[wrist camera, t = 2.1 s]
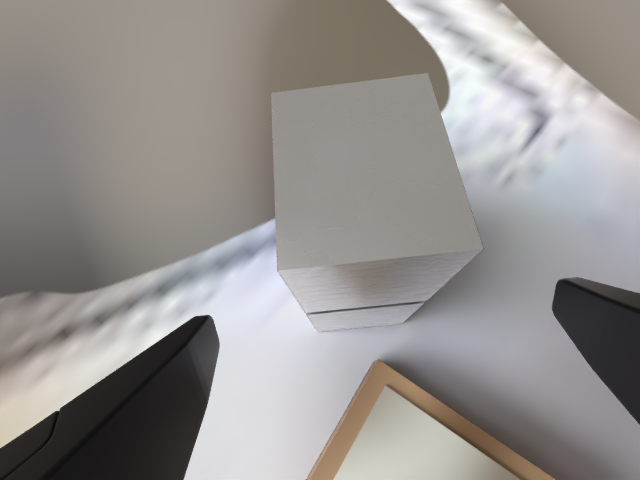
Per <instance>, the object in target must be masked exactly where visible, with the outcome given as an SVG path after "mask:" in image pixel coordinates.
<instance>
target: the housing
mask: <svg viewBox="0 0 640 480" xmlns="http://www.w3.org/2000/svg"><path fill="white" fill-rule="evenodd" d="M271 100H272V132H273V158H274V159H273V161H274V188H275V189H274V190H275V220H276V250H277V271H278V273H279V274H280V276H281V277H282V279H283V280H284V282H285V284H286V285H287V287H288V288H289V290H290V291H291V293H292V294H293V296H294V297H295V299H296V300H297V302H298V303H299V305H300V306H301V308H302V309H303V311H304V312H305V313H306V315H307V317H308V318H309V320H310V321H311V323H312V324H313V326H314V327H315V329H316V331H317V332H325V331H335V330H345V329H355V328H365V327H375V326H385V325H395V324H402V323H403V322H405V321H406V320H407V319H408V318H409V317H410V316H411V315H412V314H413V313H414V312H415V311H417V310H418V309H419V308H420V307H421V306H422V305H423V304H424V301H427V300H428V299H430V298H431V297H432V296H433V295H434V294H435V293H436V292H437V291H438V290H439V289H440V288H442V287H443V286H444V285H445V284H446V283H447V282H448V281H449V280H450V279H451V278H452V277H453V276H455V275H456V274H457V273H458V272H459V271H460V270H461V269H462V268H463V267H464V266H465V265H467V264H468V263H469V262H470V261H471V260H472V259H473V258H474V257H475V256H476V255H477V254H478V253H480V252H481V251H482V250H483V246H482V243H481V239H480V236H479V233H478V230H477V227H476V224H475V221H474V217H473V214H472V211H471V208H470V205H469V202H468V198H467V195H466V192H465V189H464V186H463V183H462V179H461V176H460V173H459V170H458V167H457V164H456V161H455V157H454V154H453V151H452V148H451V145H450V142H449V138H448V135H447V132H446V129H445V126H444V123H443V119H442V116H441V113H440V110H439V107H438V104H437V101H436V97H435V94H434V91H433V88H432V85H431V82H430V78H429V76H428V73H425V74H416V75H409V76H401V77H393V78H385V79H377V80H370V81H362V82H354V83H346V84H338V85H330V86H323V87H315V88H307V89H299V90H291V91H283V92H275V93H271Z"/></svg>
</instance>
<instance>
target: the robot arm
mask: <svg viewBox="0 0 640 480" xmlns="http://www.w3.org/2000/svg"><path fill="white" fill-rule="evenodd" d="M552 310H553V313H554V316H555V317H556V319H557V320H558V322H559V323H560V324H561V326H562V327H563V329H564V330H565V331H566V333H567V334H568V336H569V337H570V338H571V340H572V341H573V343H574V344H575V346H576V347H577V348H578V350H579V351H580V353H581V354H582V355H583V357H584V358H585V360H586V361H587V362H588V364H589V365H590V366H591V368H592V369H593V370H594V371H595V373H596V374H597V375H598V376H599V378H600V379H601V380H602V381H603V382H604V383H605V385H606V386H607V387H608V388H609V389H610V390H611V392H612V393H613V394H614V395H615V396H616V397H617V399H618V400H619V401H620V402H621V403H622V404H623V406H624V407H625V408H626V409H627V410H628V411H629V413H630V414H631V415H632V416H633V417H634V418H635V420H636V421H637V422H638V423H639V424H640V294H639V293H635V292H632V291H628V290H624V289H620V288H617V287H613V286H609V285H605V284H601V283H598V282H594V281H590V280H586V279H583V278H578V277H574V278H564V279H560V280H559V281H558V282H557V284H556V289H555V294H554V299H553V304H552ZM218 353H219V338H218V335H217V331H216V328H215V324H214V321H213V318H212V317H211V316H210V315H203V316H195V317H193V318H192V319H190V320H189V321H187V322H186V323H184V324H183V325H181V326H180V327H179V328H177V329H176V330H174V331H173V332H171V333H170V334H168V335H167V336H165V337H164V338H162V339H161V340H160V341H158V342H157V343H155V344H154V345H152V346H151V347H149V348H148V349H146V350H145V351H143V352H142V353H140V354H139V355H138V356H136V357H135V358H133V359H132V360H130V361H129V362H127V363H126V364H124V365H123V366H121V367H120V368H118V369H117V370H116V371H114V372H113V373H111V374H110V375H108V376H107V377H105V378H104V379H102V380H101V381H99V382H98V383H96V384H95V385H94V386H92V387H91V388H89V389H88V390H86V391H85V392H83V393H82V394H80V395H79V396H77V397H76V398H75V399H73V400H72V401H70V402H69V403H67V404H66V405H64V406H63V407H61V408H60V410H59V411H55V412H54V413H52V414H51V415H49V416H48V417H47V418H45V419H44V420H42V421H41V422H39V423H38V424H36V425H35V426H33V427H32V428H30V429H29V430H27V431H26V432H24V433H23V434H21V435H20V436H18V437H17V438H15V439H14V440H12V441H11V442H9V443H8V444H6V445H5V446H3V447H2V448H0V480H183V479H184V476H185V473H186V470H187V467H188V464H189V461H190V458H191V455H192V451H193V448H194V445H195V442H196V439H197V436H198V433H199V430H200V427H201V424H202V420H203V417H204V414H205V411H206V408H207V404H208V400H209V396H210V391H211V386H212V382H213V377H214V372H215V367H216V362H217V357H218Z"/></svg>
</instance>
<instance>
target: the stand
mask: <svg viewBox="0 0 640 480" xmlns="http://www.w3.org/2000/svg"><path fill="white" fill-rule="evenodd" d="M306 480H556V479H554V478H553V477H551V476H550V475H548V474H547V473H545V472H544V471H542V470H541V469H539V468H538V467H536V466H535V465H533V464H532V463H530V462H529V461H528V460H526V459H525V458H523V457H522V456H520V455H519V454H517V453H516V452H514V451H513V450H511V449H510V448H508V447H507V446H505V445H504V444H502V443H501V442H499V441H498V440H497V439H495V438H494V437H492V436H491V435H489V434H488V433H486V432H485V431H483V430H482V429H480V428H479V427H477V426H476V425H474V424H473V423H471V422H470V421H469V420H467V419H466V418H464V417H463V416H461V415H460V414H458V413H457V412H455V411H454V410H452V409H451V408H449V407H448V406H446V405H445V404H443V403H442V402H440V401H439V400H438V399H436V398H435V397H433V396H432V395H430V394H429V393H427V392H426V391H424V390H423V389H421V388H420V387H418V386H417V385H415V384H414V383H412V382H411V381H409V380H408V379H407V378H405V377H404V376H402V375H401V374H399V373H398V372H396V371H395V370H393V369H392V368H390V367H389V366H387V365H386V364H384V363H383V362H381V361H380V360H379V359H378V360H376V361H374V362H373V364H372V365H371V367H370V369H369V371H368V372H367V374H366V376H365V378H364V379H363V381H362V383H361V385H360V386H359V388H358V390H357V391H356V393H355V395H354V397H353V398H352V400H351V402H350V404H349V405H348V407H347V409H346V411H345V412H344V414H343V416H342V418H341V419H340V421H339V423H338V425H337V426H336V428H335V430H334V432H333V433H332V435H331V437H330V439H329V440H328V442H327V444H326V446H325V447H324V449H323V451H322V453H321V454H320V456H319V458H318V460H317V461H316V463H315V465H314V467H313V468H312V470H311V472H310V474H309V475H308V477H307V479H306Z"/></svg>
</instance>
